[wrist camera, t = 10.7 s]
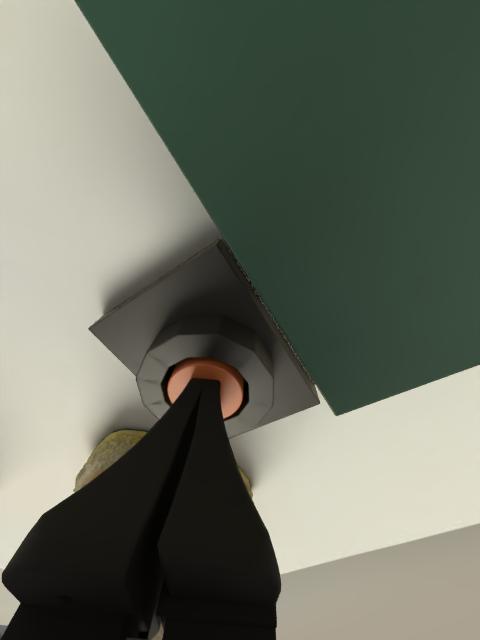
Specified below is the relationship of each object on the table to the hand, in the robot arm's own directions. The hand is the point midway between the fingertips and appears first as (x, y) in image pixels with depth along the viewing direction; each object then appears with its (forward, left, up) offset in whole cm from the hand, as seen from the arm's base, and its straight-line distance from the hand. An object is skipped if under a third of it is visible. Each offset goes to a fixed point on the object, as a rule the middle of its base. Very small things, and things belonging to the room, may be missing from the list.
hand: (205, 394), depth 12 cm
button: (0, 0, -2) cm, 2 cm away
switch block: (0, 0, -3) cm, 3 cm away
